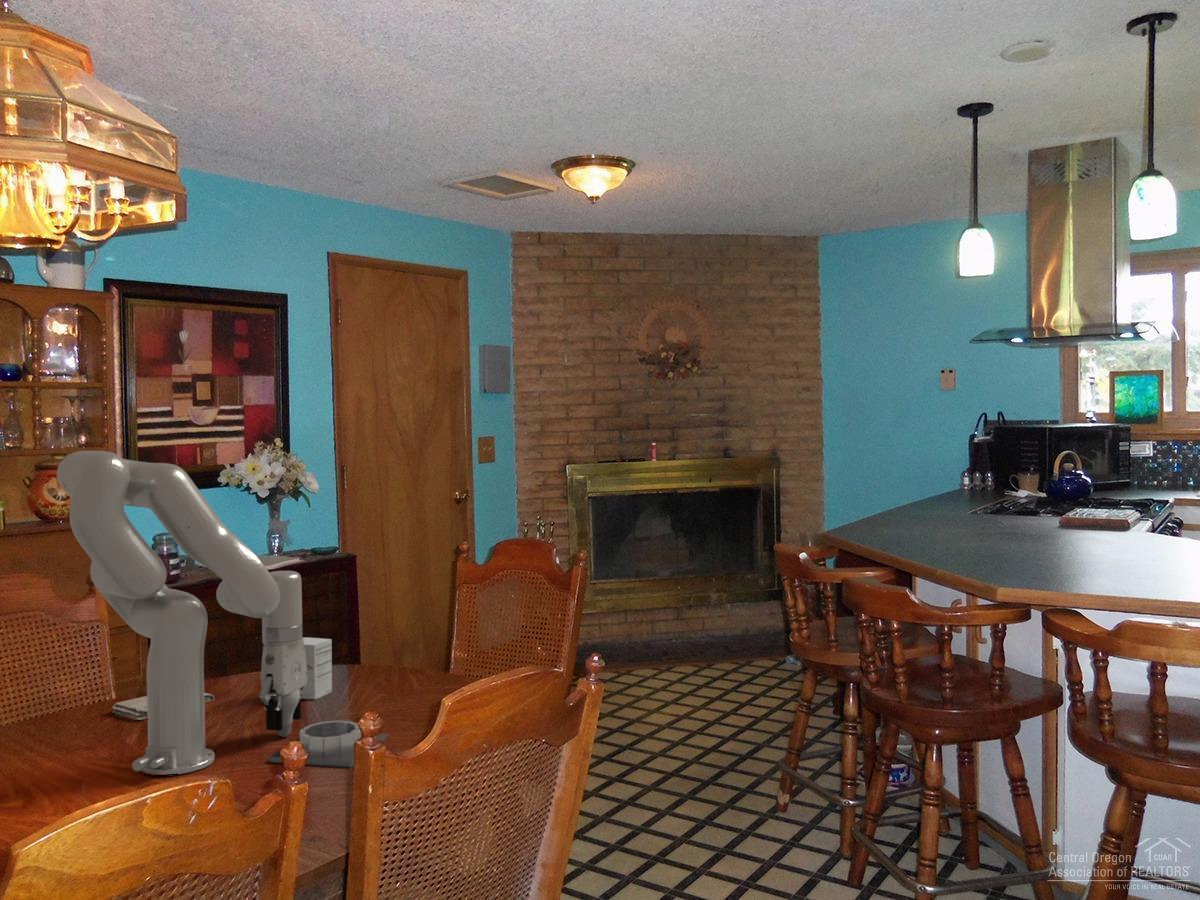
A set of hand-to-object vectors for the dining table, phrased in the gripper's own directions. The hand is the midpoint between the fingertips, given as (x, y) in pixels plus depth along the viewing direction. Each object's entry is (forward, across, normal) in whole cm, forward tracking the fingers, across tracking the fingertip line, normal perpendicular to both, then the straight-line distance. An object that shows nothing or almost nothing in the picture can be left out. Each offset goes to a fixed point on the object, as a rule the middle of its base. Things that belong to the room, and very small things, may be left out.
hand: (284, 723), depth 190 cm
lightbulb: (+3, 0, 0) cm, 3 cm away
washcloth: (+3, +14, +37) cm, 40 cm away
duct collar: (+3, -6, -13) cm, 15 cm away
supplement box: (+3, +29, +10) cm, 31 cm away
